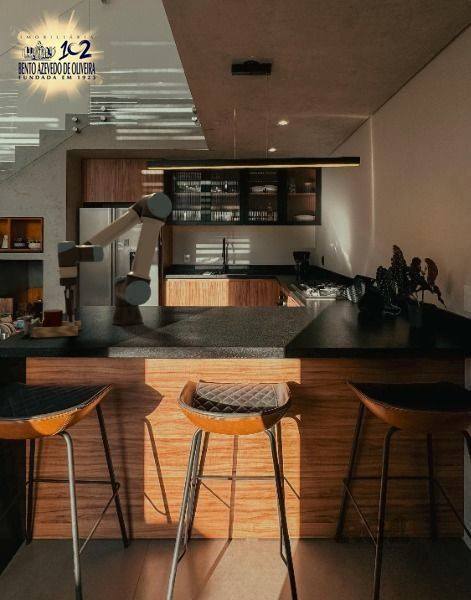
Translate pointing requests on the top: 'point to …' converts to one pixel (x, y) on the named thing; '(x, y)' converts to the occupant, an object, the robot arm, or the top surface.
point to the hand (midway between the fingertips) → (71, 329)
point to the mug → (53, 318)
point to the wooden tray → (53, 329)
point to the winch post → (27, 324)
